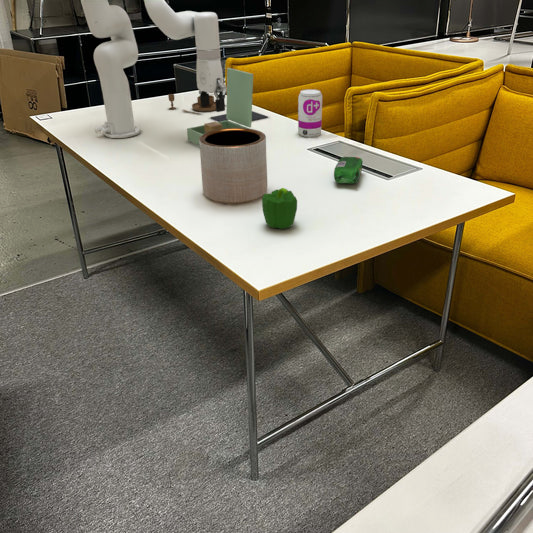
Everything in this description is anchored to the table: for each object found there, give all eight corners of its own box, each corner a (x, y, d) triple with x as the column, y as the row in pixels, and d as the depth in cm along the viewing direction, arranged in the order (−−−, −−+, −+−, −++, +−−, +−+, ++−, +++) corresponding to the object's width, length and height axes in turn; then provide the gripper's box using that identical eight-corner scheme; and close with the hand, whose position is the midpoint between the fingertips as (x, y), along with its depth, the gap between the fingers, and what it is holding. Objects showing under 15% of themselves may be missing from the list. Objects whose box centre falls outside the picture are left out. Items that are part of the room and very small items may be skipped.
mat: (229, 125, 211) (229, 124, 211) (210, 118, 221) (210, 117, 221) (267, 117, 220) (267, 116, 220) (247, 110, 230) (247, 109, 230)
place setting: (204, 115, 225) (203, 100, 222) (167, 109, 235) (165, 95, 232) (229, 105, 238) (229, 91, 235) (193, 100, 247) (192, 87, 244)
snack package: (330, 188, 155) (331, 170, 152) (339, 169, 168) (340, 152, 165) (356, 190, 153) (357, 172, 150) (363, 170, 166) (364, 154, 163)
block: (212, 143, 189) (210, 126, 186) (205, 140, 192) (204, 123, 189) (223, 141, 192) (222, 124, 189) (216, 138, 195) (215, 121, 192)
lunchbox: (209, 152, 184) (208, 138, 182) (188, 142, 194) (186, 128, 192) (250, 142, 192) (250, 128, 190) (228, 133, 203) (227, 120, 200)
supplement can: (321, 137, 196) (323, 94, 188) (298, 137, 196) (298, 94, 188) (320, 131, 203) (321, 88, 195) (297, 131, 203) (298, 89, 195)
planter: (244, 210, 142) (241, 151, 135) (189, 197, 151) (184, 140, 143) (279, 188, 155) (279, 132, 148) (227, 177, 164) (224, 124, 156)
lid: (251, 74, 182) (253, 74, 182) (227, 68, 192) (229, 67, 192) (249, 127, 190) (251, 127, 190) (226, 118, 200) (228, 118, 200)
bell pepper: (259, 220, 137) (258, 181, 132) (291, 216, 139) (291, 178, 134) (267, 234, 130) (266, 194, 125) (300, 230, 132) (301, 191, 127)
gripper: (185, 53, 182) (190, 106, 191) (212, 59, 170) (216, 115, 178) (204, 50, 186) (209, 102, 194) (233, 56, 174) (236, 111, 182)
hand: (212, 108), depth 186 cm, fingers open, 9 cm apart
